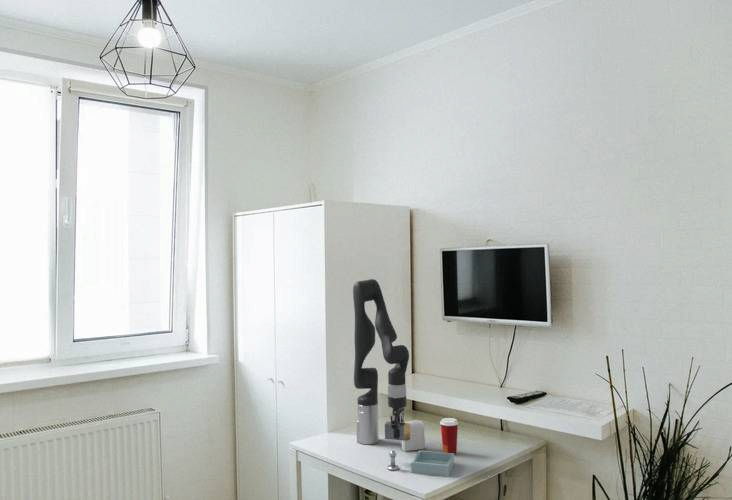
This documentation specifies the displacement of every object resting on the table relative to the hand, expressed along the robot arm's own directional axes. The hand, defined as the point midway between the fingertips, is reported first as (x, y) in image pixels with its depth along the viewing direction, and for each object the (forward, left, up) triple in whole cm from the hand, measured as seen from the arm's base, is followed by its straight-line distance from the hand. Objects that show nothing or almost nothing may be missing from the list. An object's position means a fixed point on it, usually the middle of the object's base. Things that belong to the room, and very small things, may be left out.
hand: (398, 436), depth 236 cm
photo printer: (+3, +16, -10) cm, 19 cm away
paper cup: (+19, +15, -10) cm, 26 cm away
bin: (+15, -4, -10) cm, 19 cm away
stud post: (0, -8, -10) cm, 13 cm away
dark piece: (-1, 0, -1) cm, 1 cm away
